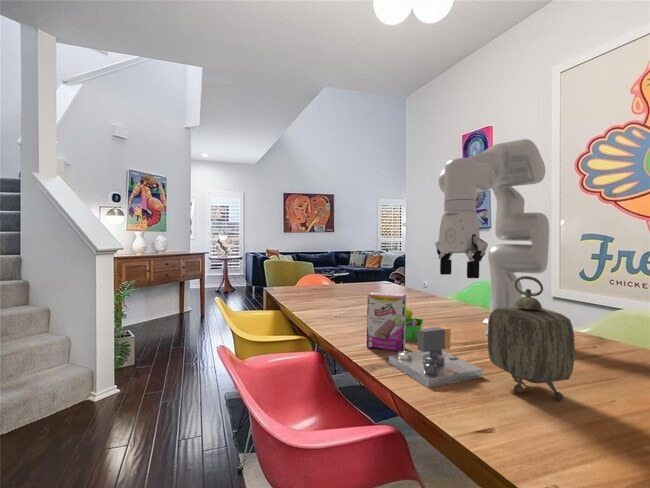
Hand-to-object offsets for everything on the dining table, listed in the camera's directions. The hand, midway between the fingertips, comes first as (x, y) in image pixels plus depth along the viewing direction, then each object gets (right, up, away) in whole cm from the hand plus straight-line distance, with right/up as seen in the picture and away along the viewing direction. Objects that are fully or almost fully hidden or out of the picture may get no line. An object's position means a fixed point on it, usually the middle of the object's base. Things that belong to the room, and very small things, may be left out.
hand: (458, 276), depth 85 cm
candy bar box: (-15, -24, +17) cm, 33 cm away
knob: (-6, -21, 0) cm, 22 cm away
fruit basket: (-5, -24, +29) cm, 38 cm away
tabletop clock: (+10, -24, -12) cm, 29 cm away
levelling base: (-6, -24, 0) cm, 24 cm away
